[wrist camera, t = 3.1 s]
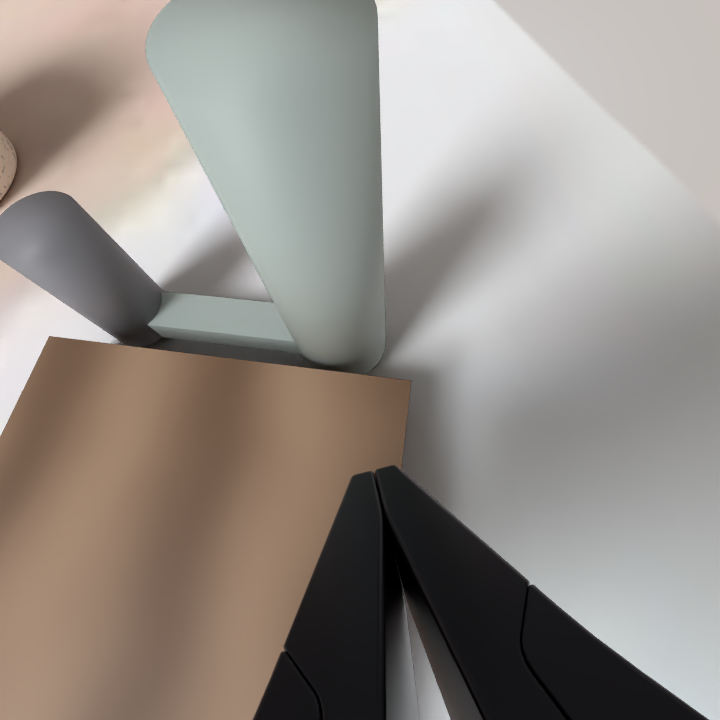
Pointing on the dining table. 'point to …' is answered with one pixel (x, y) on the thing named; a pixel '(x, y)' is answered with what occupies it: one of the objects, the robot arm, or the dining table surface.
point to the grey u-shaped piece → (249, 186)
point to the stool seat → (169, 524)
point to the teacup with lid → (6, 164)
